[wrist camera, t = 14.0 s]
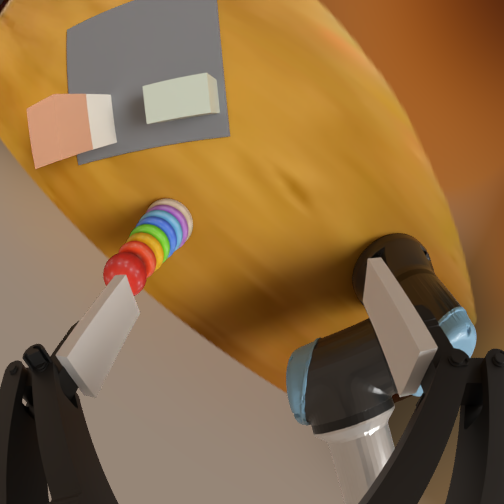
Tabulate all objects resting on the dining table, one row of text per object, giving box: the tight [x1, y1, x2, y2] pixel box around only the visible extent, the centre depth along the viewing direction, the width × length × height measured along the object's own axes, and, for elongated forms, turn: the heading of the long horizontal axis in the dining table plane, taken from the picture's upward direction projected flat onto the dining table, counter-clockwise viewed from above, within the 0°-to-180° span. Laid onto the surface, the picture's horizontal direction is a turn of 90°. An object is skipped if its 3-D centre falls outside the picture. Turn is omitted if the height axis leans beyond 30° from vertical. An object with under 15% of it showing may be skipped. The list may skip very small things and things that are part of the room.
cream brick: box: [86, 94, 117, 151], centre depth 32 cm, size 8×5×7 cm, turn 5°
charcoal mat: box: [67, 0, 230, 165], centre depth 32 cm, size 26×26×1 cm
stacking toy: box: [103, 199, 193, 296], centre depth 35 cm, size 8×8×19 cm
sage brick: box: [143, 73, 220, 124], centre depth 31 cm, size 8×5×7 cm, turn 95°
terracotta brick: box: [27, 94, 93, 169], centre depth 26 cm, size 8×5×7 cm, turn 5°
